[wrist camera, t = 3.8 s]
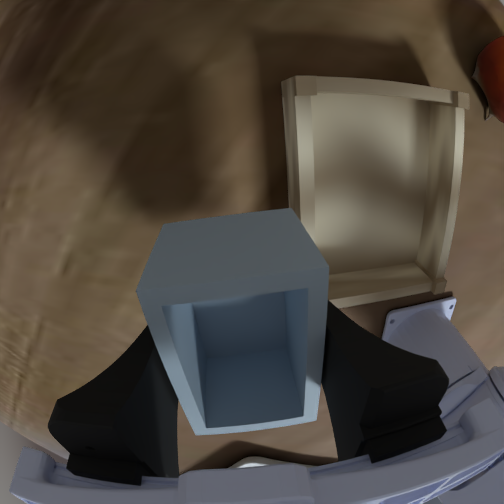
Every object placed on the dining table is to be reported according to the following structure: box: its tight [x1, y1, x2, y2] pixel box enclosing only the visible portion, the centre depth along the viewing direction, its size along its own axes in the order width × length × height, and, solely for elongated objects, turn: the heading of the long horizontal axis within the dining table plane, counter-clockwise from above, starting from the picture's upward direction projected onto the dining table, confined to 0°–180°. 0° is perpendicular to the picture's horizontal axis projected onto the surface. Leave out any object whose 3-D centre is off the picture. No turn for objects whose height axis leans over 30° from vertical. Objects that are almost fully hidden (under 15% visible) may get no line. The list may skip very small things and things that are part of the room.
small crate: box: [136, 208, 329, 435], centre depth 12 cm, size 8×5×5 cm
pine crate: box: [281, 76, 469, 308], centre depth 18 cm, size 14×11×4 cm
